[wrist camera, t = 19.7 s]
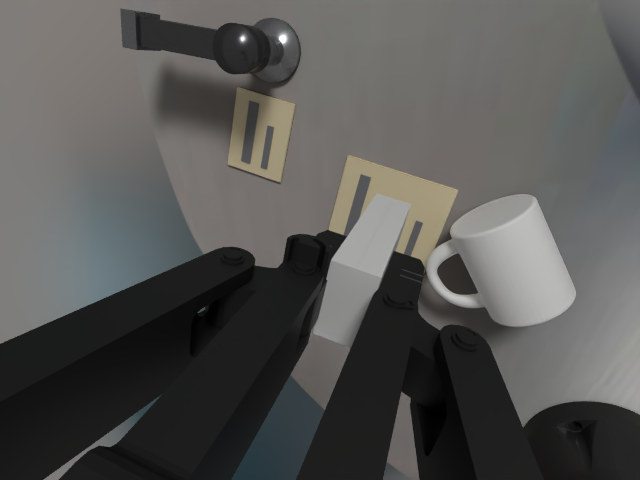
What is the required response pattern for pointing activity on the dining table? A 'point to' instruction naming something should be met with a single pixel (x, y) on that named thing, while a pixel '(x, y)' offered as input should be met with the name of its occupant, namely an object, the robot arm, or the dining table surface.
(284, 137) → the label card
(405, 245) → the label card
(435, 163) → the dining table surface
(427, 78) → the dining table surface
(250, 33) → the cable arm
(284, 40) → the grey mushroom knob
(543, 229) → the mug
